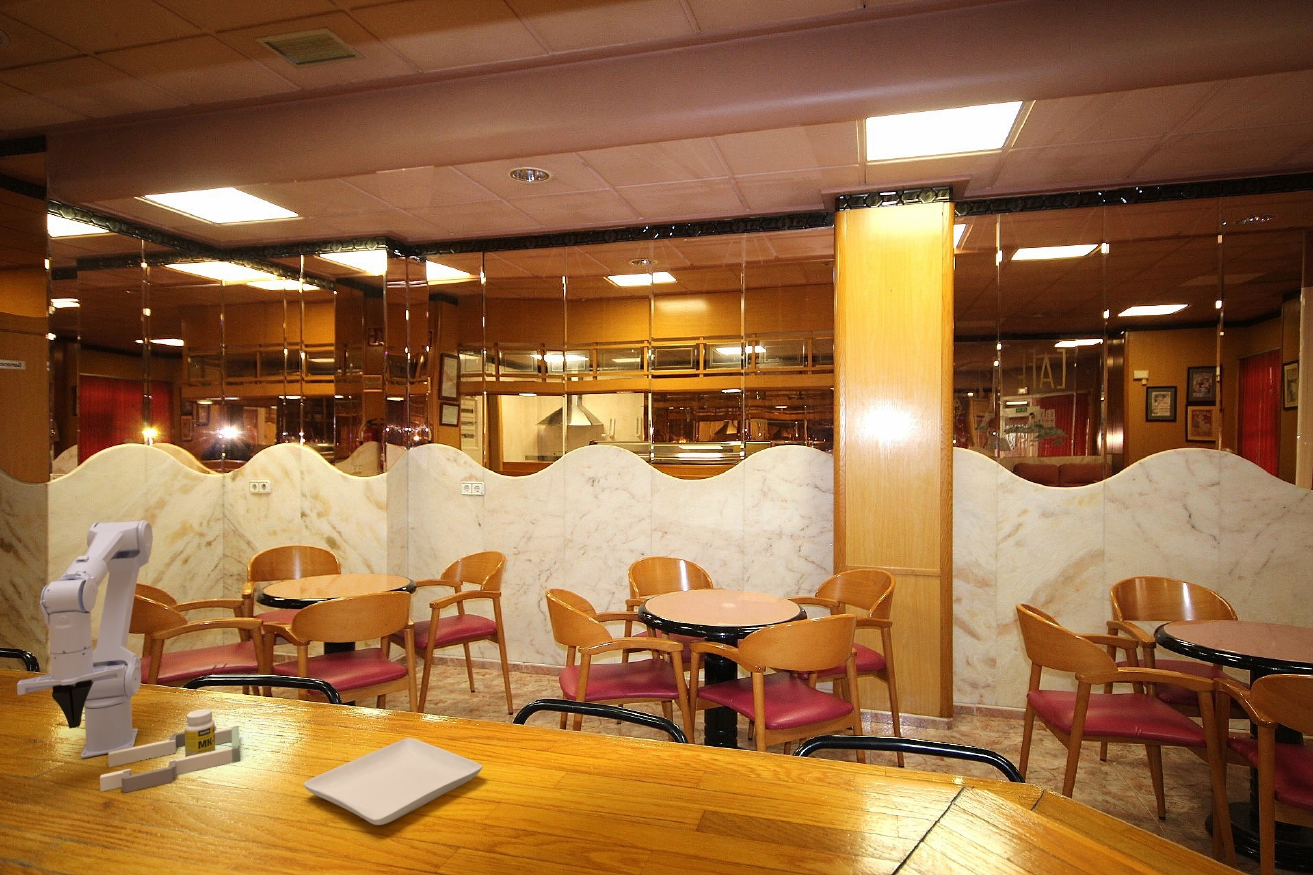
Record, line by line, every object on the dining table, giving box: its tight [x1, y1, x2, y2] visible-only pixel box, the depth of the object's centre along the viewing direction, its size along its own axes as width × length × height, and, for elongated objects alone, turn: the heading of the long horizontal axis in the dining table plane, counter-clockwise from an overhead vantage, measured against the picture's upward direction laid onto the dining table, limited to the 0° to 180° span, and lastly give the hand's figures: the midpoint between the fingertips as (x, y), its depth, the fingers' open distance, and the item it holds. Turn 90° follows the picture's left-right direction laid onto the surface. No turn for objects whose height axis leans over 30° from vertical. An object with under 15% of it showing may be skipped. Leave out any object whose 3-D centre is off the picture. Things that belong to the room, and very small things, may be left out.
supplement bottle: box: [184, 708, 216, 757], centre depth 136 cm, size 5×5×8 cm
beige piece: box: [99, 725, 241, 794], centre depth 134 cm, size 17×21×2 cm
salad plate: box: [303, 737, 484, 826], centre depth 123 cm, size 21×21×3 cm
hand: (75, 725), depth 128 cm, fingers closed
